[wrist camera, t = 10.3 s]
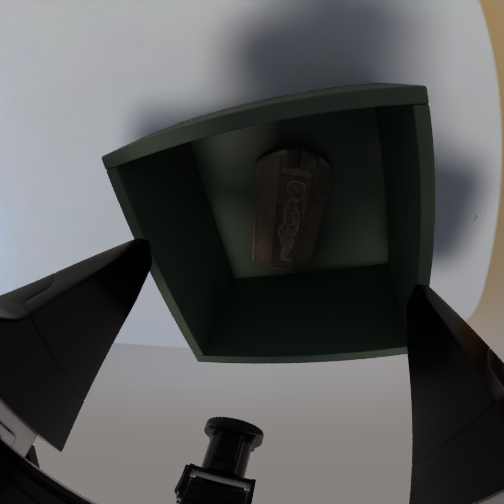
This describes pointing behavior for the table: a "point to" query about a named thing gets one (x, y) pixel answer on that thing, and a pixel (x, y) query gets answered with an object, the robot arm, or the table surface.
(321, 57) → the table surface
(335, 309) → the bin
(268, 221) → the block
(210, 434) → the robot arm
